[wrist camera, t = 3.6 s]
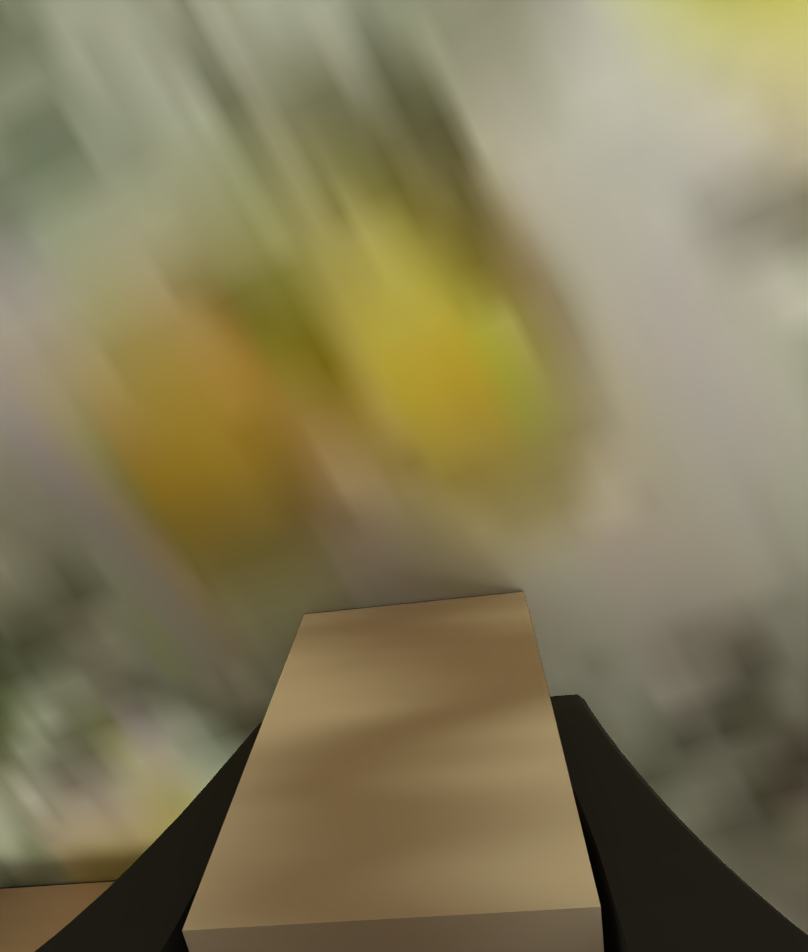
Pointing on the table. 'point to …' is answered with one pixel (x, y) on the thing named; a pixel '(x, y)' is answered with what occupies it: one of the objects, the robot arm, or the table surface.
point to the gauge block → (404, 796)
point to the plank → (41, 912)
